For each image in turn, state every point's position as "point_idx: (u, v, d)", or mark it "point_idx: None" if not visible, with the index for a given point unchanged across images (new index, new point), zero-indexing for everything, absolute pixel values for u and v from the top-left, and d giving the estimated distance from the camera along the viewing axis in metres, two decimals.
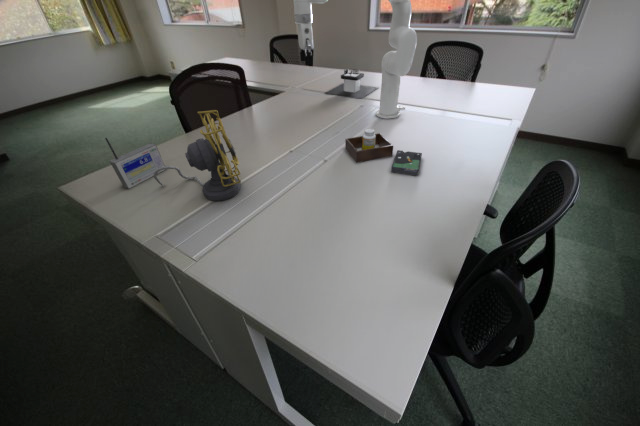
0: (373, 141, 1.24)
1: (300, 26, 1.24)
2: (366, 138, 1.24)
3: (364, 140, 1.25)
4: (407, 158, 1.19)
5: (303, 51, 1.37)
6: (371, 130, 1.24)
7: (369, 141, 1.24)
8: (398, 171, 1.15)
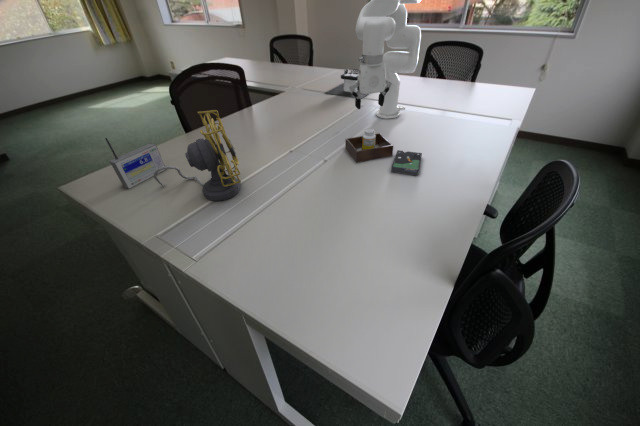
0: (373, 141, 1.24)
1: None
2: (366, 138, 1.24)
3: (364, 140, 1.25)
4: (407, 158, 1.19)
5: (380, 95, 1.16)
6: (371, 130, 1.24)
7: (369, 141, 1.24)
8: (398, 171, 1.15)
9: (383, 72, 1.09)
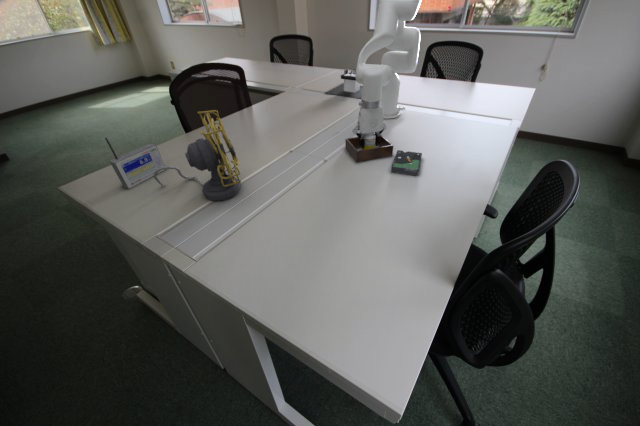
0: (373, 141, 1.24)
1: None
2: (366, 138, 1.24)
3: (364, 140, 1.25)
4: (407, 158, 1.19)
5: None
6: None
7: (369, 141, 1.24)
8: (398, 171, 1.15)
9: (381, 114, 1.18)
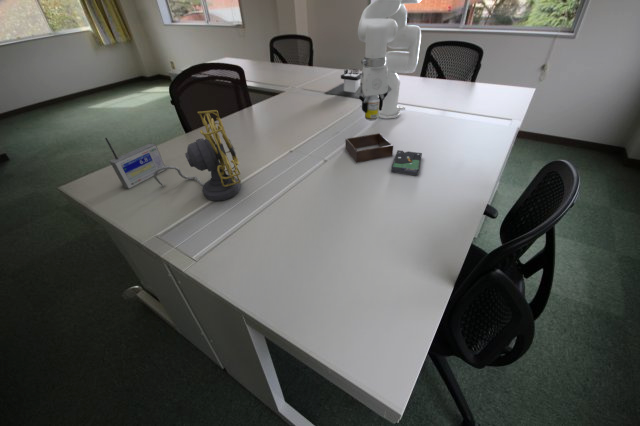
0: (377, 105, 1.16)
1: None
2: (369, 101, 1.15)
3: None
4: (407, 158, 1.19)
5: None
6: None
7: (373, 105, 1.15)
8: (398, 171, 1.15)
9: (385, 74, 1.09)
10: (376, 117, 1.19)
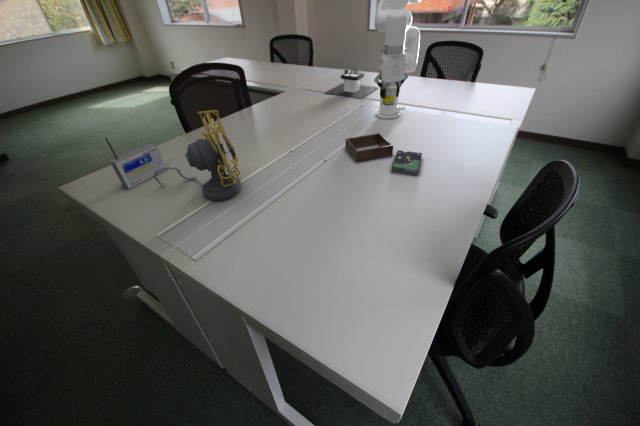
0: (394, 91, 1.23)
1: None
2: (387, 88, 1.22)
3: None
4: (407, 158, 1.19)
5: None
6: None
7: (391, 91, 1.23)
8: (398, 171, 1.15)
9: (403, 61, 1.17)
10: (393, 103, 1.26)
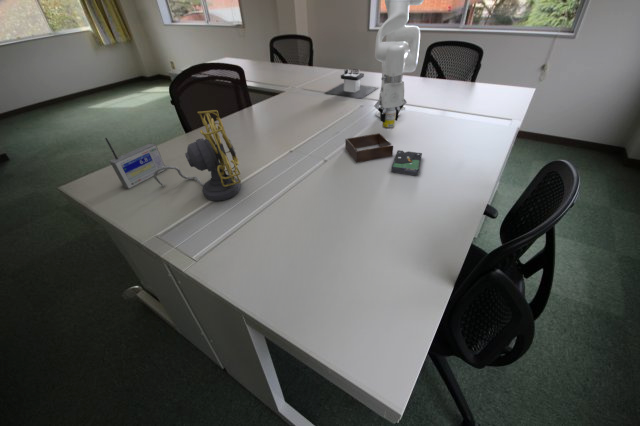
0: (394, 116, 1.31)
1: None
2: (387, 113, 1.30)
3: (385, 115, 1.31)
4: (407, 158, 1.19)
5: None
6: None
7: (390, 115, 1.31)
8: (398, 171, 1.15)
9: (402, 89, 1.25)
10: (392, 126, 1.34)
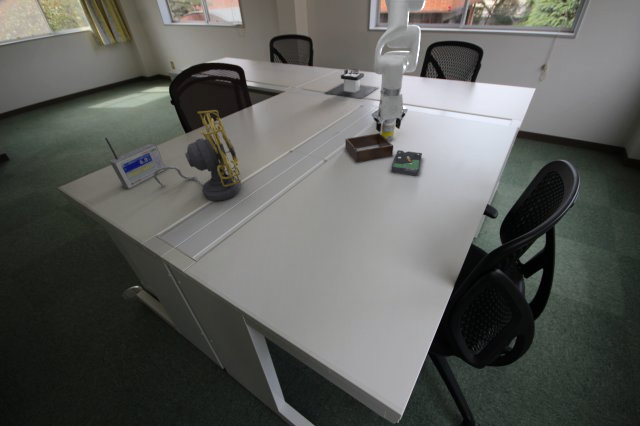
0: (392, 127, 1.35)
1: None
2: (386, 125, 1.34)
3: (384, 127, 1.35)
4: (407, 158, 1.19)
5: (397, 119, 1.36)
6: None
7: (389, 127, 1.34)
8: (398, 171, 1.15)
9: (400, 101, 1.28)
10: (391, 137, 1.38)
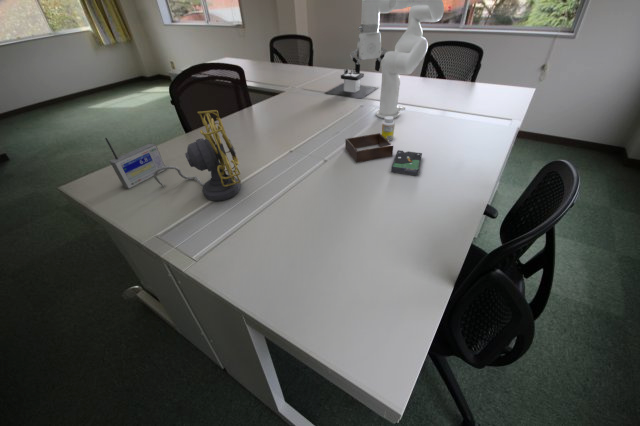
0: (392, 127, 1.35)
1: None
2: (386, 125, 1.34)
3: (384, 127, 1.35)
4: (407, 158, 1.19)
5: (377, 61, 1.35)
6: (391, 117, 1.34)
7: (389, 127, 1.34)
8: (398, 171, 1.15)
9: (378, 40, 1.27)
10: (391, 137, 1.38)
